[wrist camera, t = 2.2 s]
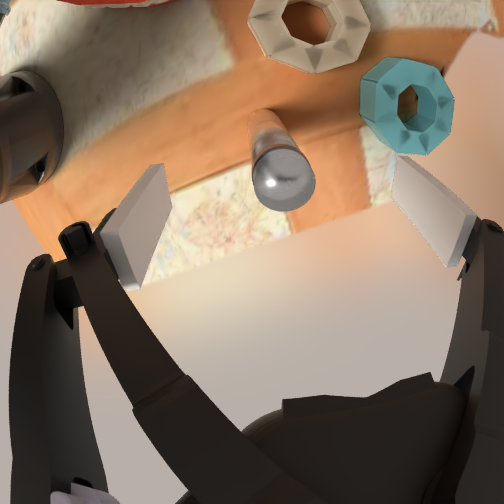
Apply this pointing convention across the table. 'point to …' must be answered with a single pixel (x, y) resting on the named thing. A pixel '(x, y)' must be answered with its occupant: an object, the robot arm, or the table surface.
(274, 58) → the bead birch
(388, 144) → the bead teal
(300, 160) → the capped vial
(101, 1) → the toy
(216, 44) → the table surface
